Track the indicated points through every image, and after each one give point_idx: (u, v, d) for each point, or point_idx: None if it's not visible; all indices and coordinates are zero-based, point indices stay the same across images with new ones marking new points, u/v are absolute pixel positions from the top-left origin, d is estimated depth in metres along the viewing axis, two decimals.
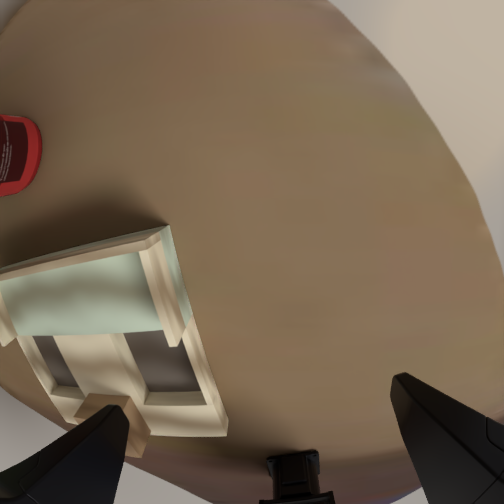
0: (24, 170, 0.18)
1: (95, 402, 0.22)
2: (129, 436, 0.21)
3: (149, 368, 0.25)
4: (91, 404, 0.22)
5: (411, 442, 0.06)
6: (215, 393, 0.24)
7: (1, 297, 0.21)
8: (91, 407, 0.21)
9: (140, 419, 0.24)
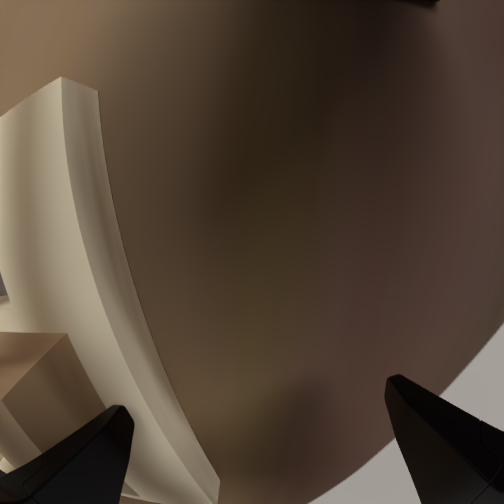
0: None
1: None
2: None
3: None
4: None
5: (405, 444, 0.06)
6: None
7: None
8: None
9: (20, 338, 0.08)
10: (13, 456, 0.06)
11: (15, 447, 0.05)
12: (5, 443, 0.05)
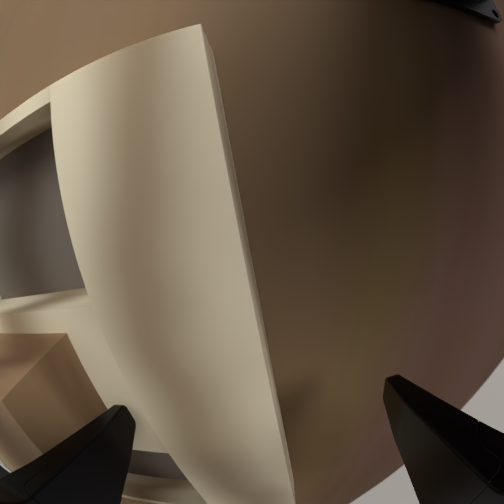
0: None
1: None
2: None
3: (53, 263, 0.10)
4: None
5: (403, 445, 0.06)
6: None
7: None
8: None
9: (20, 339, 0.08)
10: (15, 458, 0.06)
11: (16, 448, 0.05)
12: (7, 445, 0.05)
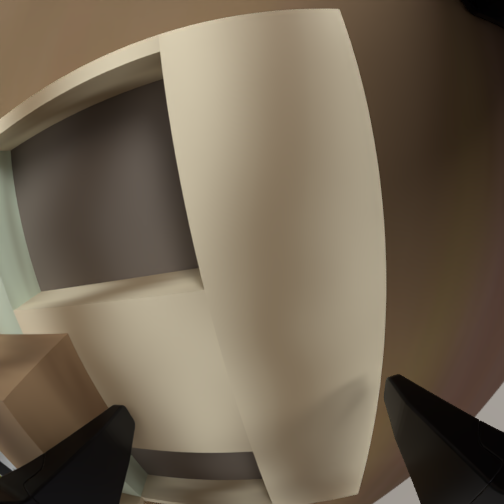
0: None
1: None
2: None
3: (124, 245, 0.10)
4: None
5: (404, 444, 0.06)
6: None
7: None
8: None
9: (21, 340, 0.08)
10: (17, 458, 0.06)
11: (18, 449, 0.05)
12: (8, 445, 0.05)
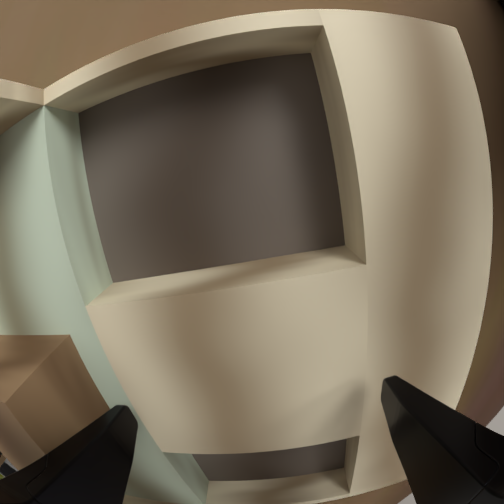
0: None
1: None
2: None
3: (244, 224, 0.09)
4: None
5: (400, 446, 0.06)
6: None
7: (140, 499, 0.12)
8: None
9: (23, 341, 0.08)
10: (18, 459, 0.06)
11: (20, 450, 0.05)
12: (10, 446, 0.05)
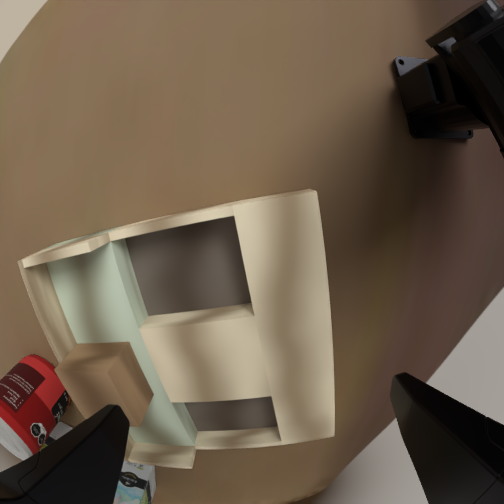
0: (39, 371, 0.22)
1: None
2: (79, 367, 0.16)
3: (208, 293, 0.20)
4: None
5: (411, 442, 0.06)
6: (233, 203, 0.18)
7: (154, 445, 0.23)
8: None
9: (101, 346, 0.19)
10: (94, 409, 0.17)
11: (101, 400, 0.17)
12: (92, 400, 0.17)
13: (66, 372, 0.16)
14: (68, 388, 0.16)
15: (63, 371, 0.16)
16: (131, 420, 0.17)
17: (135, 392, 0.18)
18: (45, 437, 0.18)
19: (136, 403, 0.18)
